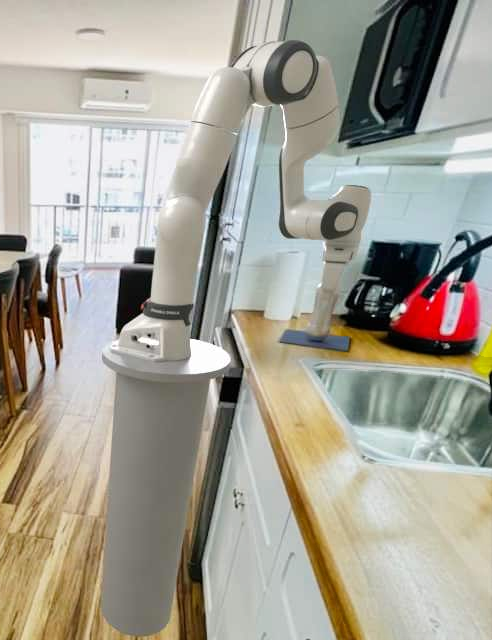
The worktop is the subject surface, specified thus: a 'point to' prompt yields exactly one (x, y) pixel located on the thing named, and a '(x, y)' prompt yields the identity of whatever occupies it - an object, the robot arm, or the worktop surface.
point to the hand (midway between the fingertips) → (325, 302)
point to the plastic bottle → (321, 316)
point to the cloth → (328, 343)
